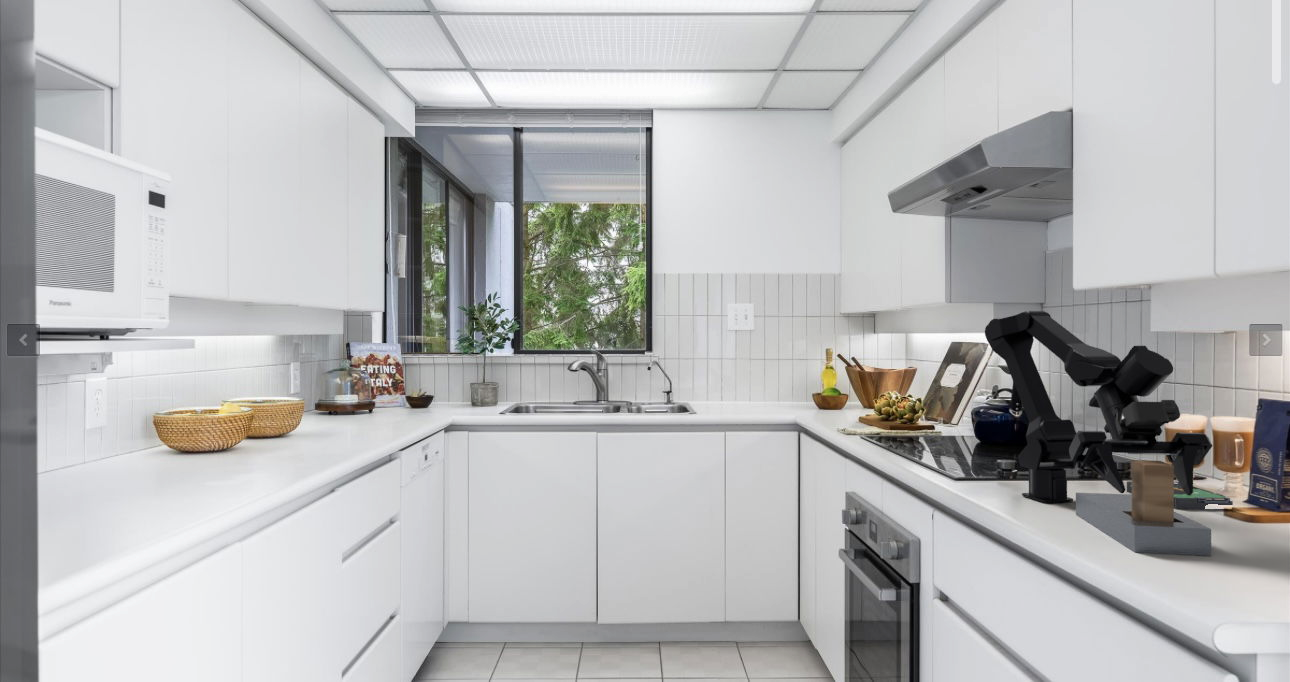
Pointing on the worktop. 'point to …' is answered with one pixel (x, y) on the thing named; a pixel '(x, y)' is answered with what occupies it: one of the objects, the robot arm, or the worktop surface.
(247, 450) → the worktop surface
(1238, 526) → the worktop surface
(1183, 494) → the disk drive
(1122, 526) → the block
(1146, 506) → the walnut peg
